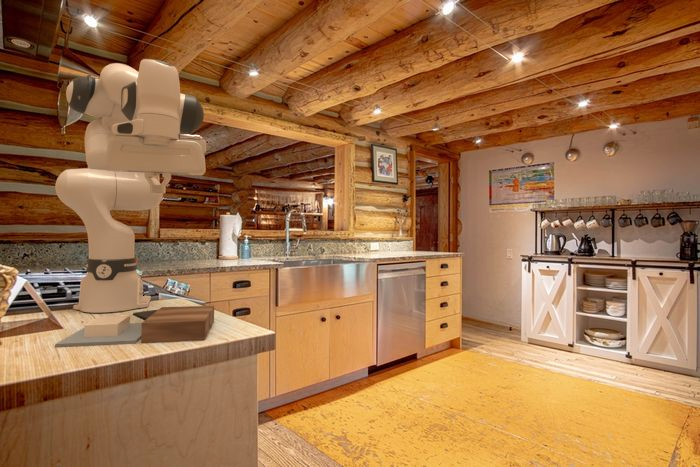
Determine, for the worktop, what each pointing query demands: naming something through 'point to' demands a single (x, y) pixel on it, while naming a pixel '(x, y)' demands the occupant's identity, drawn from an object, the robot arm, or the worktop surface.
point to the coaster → (107, 326)
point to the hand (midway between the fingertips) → (157, 193)
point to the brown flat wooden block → (178, 324)
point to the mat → (103, 338)
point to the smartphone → (144, 314)
